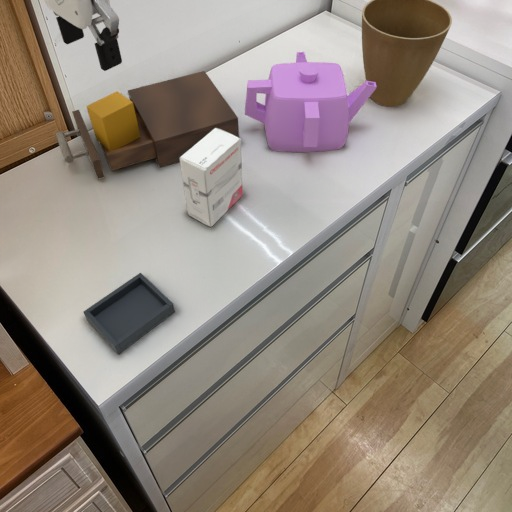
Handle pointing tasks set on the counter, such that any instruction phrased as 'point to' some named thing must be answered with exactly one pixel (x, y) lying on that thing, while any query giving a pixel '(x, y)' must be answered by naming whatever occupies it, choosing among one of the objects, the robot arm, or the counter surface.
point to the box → (114, 121)
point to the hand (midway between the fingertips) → (92, 53)
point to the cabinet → (182, 114)
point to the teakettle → (305, 105)
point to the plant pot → (401, 45)
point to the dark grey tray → (129, 312)
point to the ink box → (212, 176)
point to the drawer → (116, 158)
